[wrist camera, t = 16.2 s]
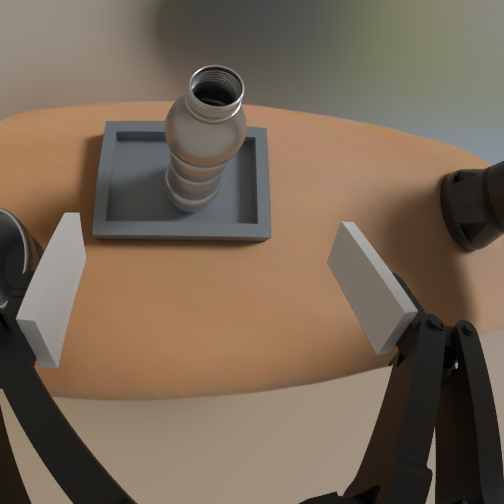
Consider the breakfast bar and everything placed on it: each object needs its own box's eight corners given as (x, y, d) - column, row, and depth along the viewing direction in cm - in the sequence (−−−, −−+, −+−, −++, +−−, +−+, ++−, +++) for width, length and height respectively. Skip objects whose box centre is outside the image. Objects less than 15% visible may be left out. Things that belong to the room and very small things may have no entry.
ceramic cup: (-13, 248, 30) (-55, 233, 21) (47, 215, 33) (13, 189, 24) (19, 344, 30) (-21, 356, 20) (82, 315, 33) (53, 320, 23)
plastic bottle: (157, 210, 36) (150, 117, 17) (171, 158, 37) (182, 41, 18) (211, 222, 37) (258, 142, 18) (222, 169, 38) (273, 63, 19)
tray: (260, 139, 41) (266, 128, 39) (263, 241, 39) (271, 237, 37) (109, 132, 37) (106, 121, 34) (97, 239, 35) (91, 234, 32)
